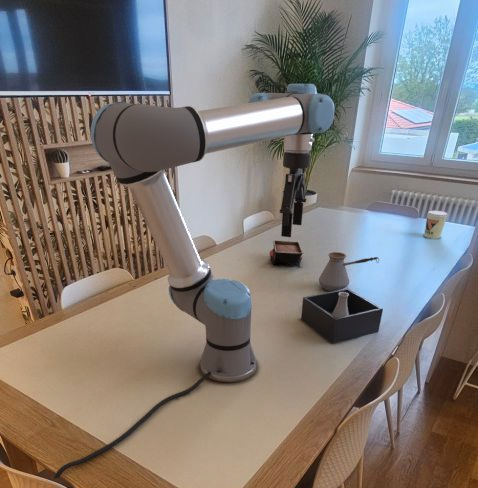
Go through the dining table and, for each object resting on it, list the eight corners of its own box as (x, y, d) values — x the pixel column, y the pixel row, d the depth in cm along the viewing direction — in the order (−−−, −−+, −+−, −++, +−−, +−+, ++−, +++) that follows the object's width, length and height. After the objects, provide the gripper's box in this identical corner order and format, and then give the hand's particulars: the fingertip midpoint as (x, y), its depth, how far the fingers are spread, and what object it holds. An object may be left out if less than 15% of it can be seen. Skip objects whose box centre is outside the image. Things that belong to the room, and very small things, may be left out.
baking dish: (302, 261, 198) (302, 238, 194) (303, 268, 181) (303, 244, 177) (270, 262, 199) (269, 239, 195) (269, 270, 183) (268, 245, 179)
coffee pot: (312, 288, 166) (316, 250, 157) (326, 279, 173) (330, 242, 165) (365, 302, 155) (373, 262, 147) (377, 292, 163) (385, 253, 155)
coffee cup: (418, 235, 227) (423, 211, 220) (431, 233, 230) (437, 209, 224) (432, 240, 220) (438, 215, 213) (445, 237, 223) (452, 213, 216)
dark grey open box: (332, 343, 130) (335, 319, 126) (300, 319, 144) (302, 297, 139) (378, 331, 137) (383, 308, 132) (344, 310, 150) (347, 288, 146)
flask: (351, 329, 136) (355, 299, 131) (327, 326, 137) (331, 297, 132) (350, 319, 142) (355, 290, 137) (328, 316, 143) (332, 288, 138)
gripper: (300, 157, 107) (294, 243, 119) (319, 147, 127) (312, 221, 138) (271, 156, 109) (267, 240, 121) (294, 145, 129) (289, 219, 140)
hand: (291, 230), depth 129 cm, fingers open, 13 cm apart
